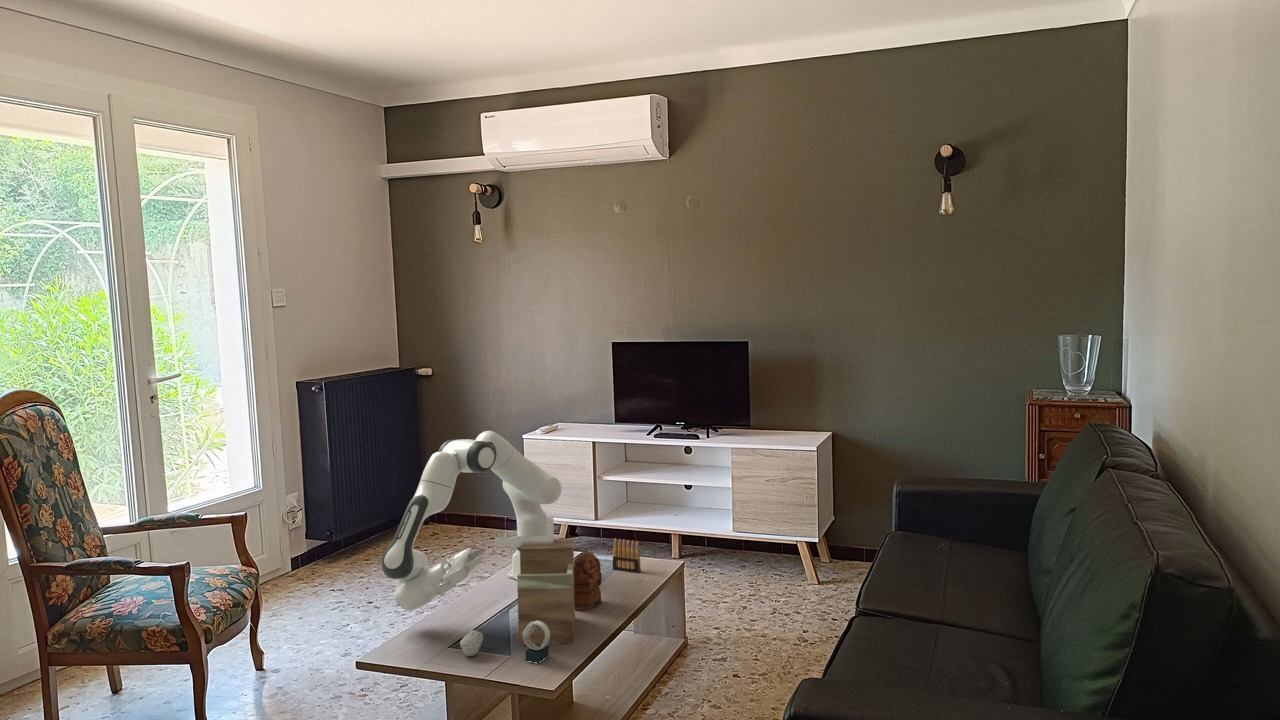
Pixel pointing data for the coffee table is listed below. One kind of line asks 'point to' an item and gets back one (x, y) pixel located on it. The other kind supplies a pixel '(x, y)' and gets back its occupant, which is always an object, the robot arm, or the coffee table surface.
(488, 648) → the coffee table surface
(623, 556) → the ammunition clip
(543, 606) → the stepped shelf
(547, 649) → the watch
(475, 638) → the white rough round lump
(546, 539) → the aluminium bracket
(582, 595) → the wooden figurine
